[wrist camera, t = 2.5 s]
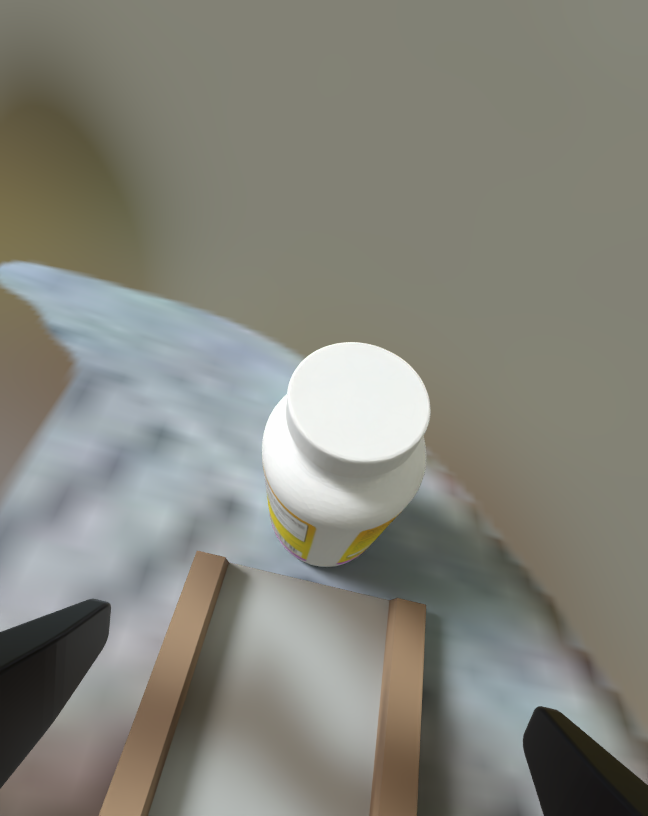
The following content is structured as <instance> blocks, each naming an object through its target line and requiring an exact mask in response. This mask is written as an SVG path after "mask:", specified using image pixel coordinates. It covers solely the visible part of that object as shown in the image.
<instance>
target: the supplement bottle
mask: <svg viewBox="0 0 648 816" xmlns="http://www.w3.org/2000/svg"><path fill="white" fill-rule="evenodd" d="M429 420H430V401H429V397H428V393H427V391H426V388H425V386H424V384H423V382H422V380H421V378H420V377H419V375H418V374H417V373H416V372H415V370H414V369H413V368H412V367H411V366H410V365H409V364H408V363H406V362H405V361H404V360H403V359H401V358H400V357H398V356H397V355H395V354H393V353H391V352H389V351H388V350H385V349H383V348H380V347H378V346H374V345H370V344H365V343H356V342H347V343H338V344H333V345H329V346H326V347H323V348H321V349H319V350H317V351H315V352H313V353H312V354H310V355H309V356H308V357H306V358H305V359H304V360H303V361H302V362H301V363H300V364H299V366H298V367H297V368H296V370H295V372H294V373H293V375H292V377H291V380H290V382H289V386H288V393H287V395H286V396H284V397H283V398H282V399H281V401H280V402H279V403H278V404H277V405H276V407H275V408H274V410H273V411H272V413H271V415H270V417H269V419H268V421H267V424H266V427H265V431H264V435H263V442H262V458H263V468H264V475H265V482H266V490H267V498H268V506H269V513H270V519H271V523H272V526H273V529H274V531H275V534H276V536H277V538H278V539H279V541H280V542H281V544H282V545H283V546H284V548H285V549H286V550H287V551H288V552H289V553H291V554H292V555H293V556H294V557H296V558H297V559H299V560H301V561H303V562H305V563H308V564H310V565H314V566H320V567H331V566H338V565H342V564H345V563H348V562H350V561H352V560H353V559H355V558H357V557H358V556H359V555H361V554H362V553H363V552H364V551H365V550H366V549H367V548H368V547H369V546H370V545H371V544H372V543H373V542H374V541H375V540H376V538H377V537H378V536H379V535H380V534H381V533H382V532H383V531H384V530H385V529H386V528H387V527H388V525H389V524H390V523H391V522H392V521H393V520H394V519H395V518H396V517H397V516H398V515H399V514H400V513H401V512H402V511H403V510H404V508H405V507H406V506H407V505H408V504H409V503H410V502H411V500H412V499H413V498H414V496H415V494H416V493H417V491H418V489H419V487H420V485H421V482H422V479H423V476H424V473H425V468H426V447H425V441H424V437H423V436H424V434H425V432H426V429H427V427H428V424H429Z"/></svg>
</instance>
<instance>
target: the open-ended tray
mask: <svg viewBox="0 0 648 816" xmlns="http://www.w3.org/2000/svg"><path fill="white" fill-rule="evenodd" d="M425 620H426V605H425V604H421V603H417V602H412V601H408V600H404V599H400V598H395V599H392V600H386V599H381V598H377V597H373V596H369V595H364V594H360V593H356V592H352V591H348V590H343V589H339V588H335V587H331V586H326V585H322V584H318V583H314V582H309V581H305V580H301V579H297V578H293V577H288V576H284V575H280V574H276V573H271V572H267V571H263V570H259V569H254V568H250V567H246V566H242V565H238V564H233V563H229V562H228V560H227V559H226V558H225V557H222V556H217V555H213V554H209V553H205V552H201V551H197V552H196V555H195V557H194V560H193V563H192V565H191V568H190V571H189V574H188V576H187V579H186V582H185V584H184V587H183V590H182V592H181V595H180V598H179V601H178V603H177V606H176V609H175V611H174V614H173V617H172V619H171V622H170V625H169V628H168V630H167V633H166V636H165V638H164V641H163V644H162V646H161V649H160V652H159V654H158V657H157V660H156V663H155V665H154V668H153V671H152V673H151V676H150V679H149V681H148V684H147V687H146V690H145V692H144V695H143V698H142V700H141V703H140V706H139V708H138V711H137V714H136V717H135V719H134V722H133V725H132V727H131V730H130V733H129V735H128V738H127V741H126V743H125V746H124V749H123V752H122V754H121V757H120V760H119V762H118V765H117V768H116V770H115V773H114V776H113V779H112V781H111V784H110V787H109V789H108V792H107V795H106V797H105V800H104V803H103V805H102V808H101V811H100V814H99V816H417V798H418V776H419V753H420V731H421V709H422V687H423V664H424V642H425Z"/></svg>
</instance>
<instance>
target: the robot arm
mask: <svg viewBox="0 0 648 816" xmlns="http://www.w3.org/2000/svg"><path fill="white" fill-rule="evenodd" d="M110 614H111V605H110V603H108V602H105V601H101V600H97V599H89V600H86V601H83V602H81V603H78V604H75V605H72V606H70V607H67V608H64V609H62V610H59V611H56V612H54V613H51V614H48V615H45V616H43V617H40V618H37V619H35V620H32V621H29V622H26V623H24V624H21V625H18V626H16V627H13V628H10V629H8V630H5V631H2V632H0V788H1V787H2V786H3V785H4V783H5V782H6V781H7V780H8V778H9V777H10V776H11V775H12V773H13V772H14V771H15V770H16V768H17V767H18V766H19V765H20V764H21V762H22V761H23V760H24V759H25V757H26V756H27V755H28V754H29V752H30V751H31V750H32V749H33V747H34V746H35V745H36V744H37V742H38V741H39V740H40V739H41V737H42V736H43V735H44V733H45V732H46V731H47V730H48V728H49V727H50V726H51V724H52V723H53V722H54V720H55V719H56V717H57V716H58V715H59V713H60V712H61V710H62V709H63V707H64V706H65V704H66V703H67V701H68V700H69V698H70V697H71V695H72V694H73V692H74V691H75V690H76V688H77V687H78V685H79V684H80V682H81V681H82V679H83V678H84V676H85V675H86V673H87V672H88V670H89V669H90V667H91V666H92V664H93V663H94V661H95V660H96V658H97V657H98V655H99V654H100V652H101V651H102V649H103V647H104V645H105V644H106V641H107V638H108V634H109V625H110ZM523 748H524V753H525V757H526V760H527V763H528V766H529V769H530V773H531V776H532V779H533V782H534V785H535V789H536V792H537V795H538V798H539V801H540V805H541V808H542V811H543V814H544V816H648V785H647V784H646V783H644V782H643V781H642V780H641V779H640V778H638V777H637V776H636V775H635V774H634V773H632V772H631V771H630V770H629V769H628V768H626V767H625V766H624V765H623V764H622V763H621V762H619V761H618V760H617V759H616V758H615V757H613V756H612V755H611V754H610V753H609V752H607V751H606V750H605V749H604V748H603V747H601V746H600V745H599V744H598V743H597V742H595V741H594V740H593V739H592V738H591V737H590V736H588V735H587V734H586V733H585V732H584V731H582V730H581V729H580V728H579V727H578V726H576V725H575V724H574V723H573V722H572V721H570V720H569V719H568V718H567V717H566V716H564V715H563V714H562V713H561V712H559V711H557V710H554V709H550V708H546V707H542V706H539V707H537V708H536V709H535V710H534V712H533V714H532V717H531V719H530V721H529V723H528V726H527V728H526V730H525V733H524V736H523Z"/></svg>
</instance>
